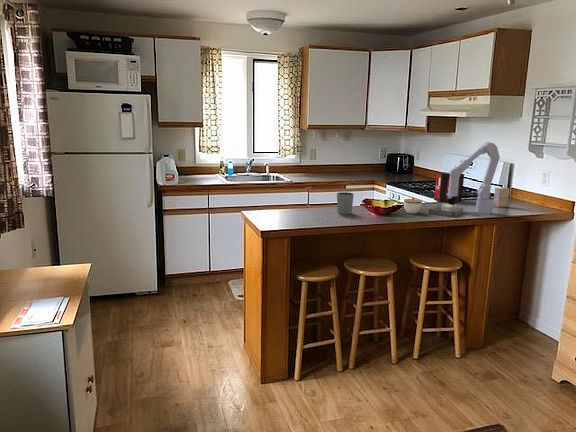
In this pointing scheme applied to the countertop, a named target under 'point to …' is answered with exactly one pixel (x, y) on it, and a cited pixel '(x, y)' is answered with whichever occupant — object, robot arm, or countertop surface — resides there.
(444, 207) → the t block
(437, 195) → the cleaning product box
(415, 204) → the lidded jar
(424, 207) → the countertop surface
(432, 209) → the bay
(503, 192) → the supplement box
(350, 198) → the grey cup
